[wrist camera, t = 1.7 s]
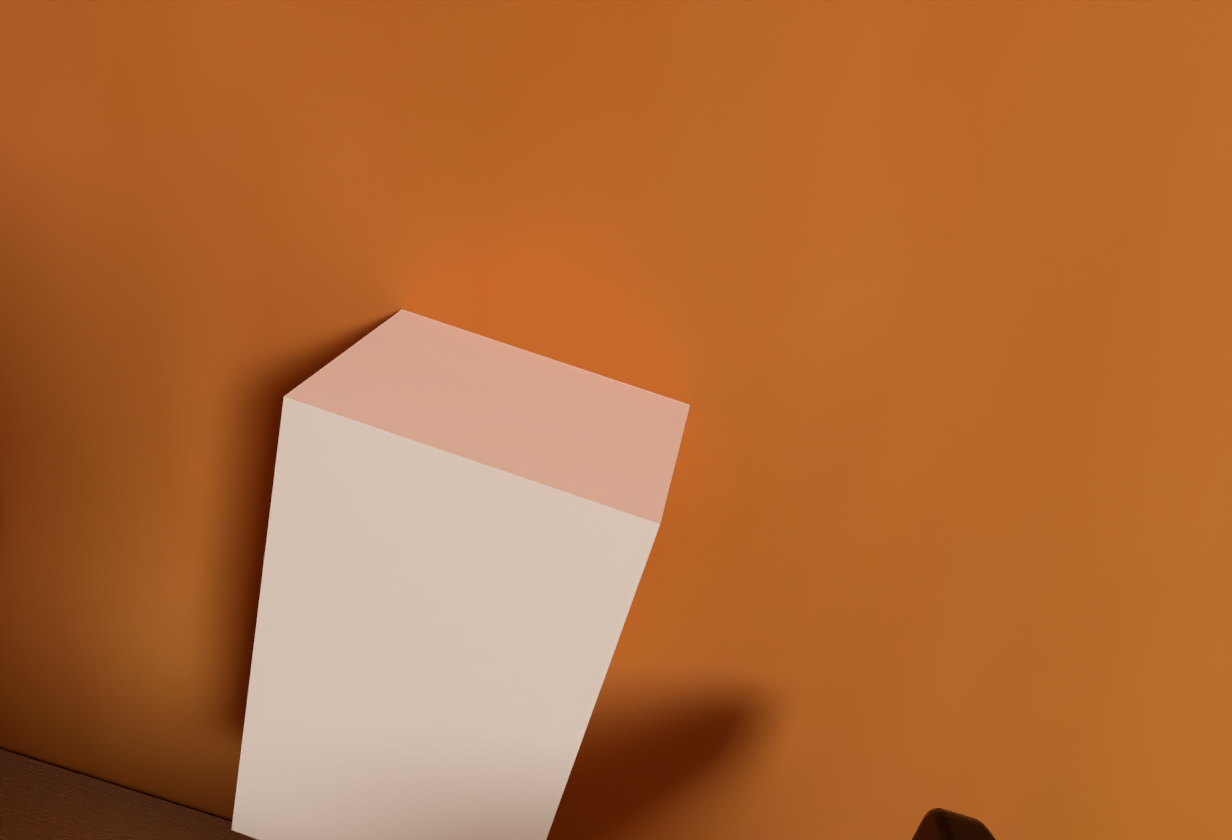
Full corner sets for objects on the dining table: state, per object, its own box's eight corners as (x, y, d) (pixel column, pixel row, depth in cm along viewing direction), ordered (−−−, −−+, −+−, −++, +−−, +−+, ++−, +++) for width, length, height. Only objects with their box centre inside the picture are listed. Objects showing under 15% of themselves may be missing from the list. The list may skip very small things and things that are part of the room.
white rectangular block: (692, 396, 9) (660, 525, 7) (568, 746, 11) (513, 931, 9) (410, 303, 9) (282, 396, 7) (343, 667, 11) (230, 830, 9)
